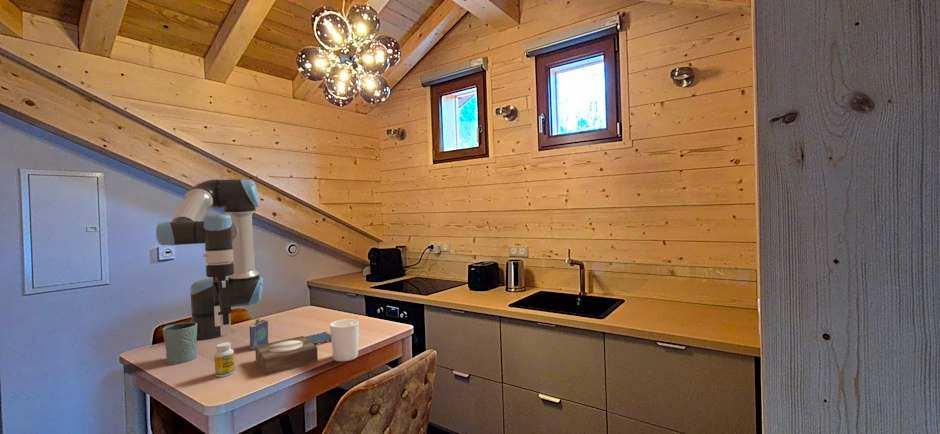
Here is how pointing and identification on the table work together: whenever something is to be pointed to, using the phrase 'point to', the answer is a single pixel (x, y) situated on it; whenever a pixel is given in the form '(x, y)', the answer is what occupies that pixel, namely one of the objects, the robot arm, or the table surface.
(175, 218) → the robot arm
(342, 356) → the candle holder
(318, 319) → the table surface
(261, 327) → the flask
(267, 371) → the walnut plinth
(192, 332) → the green cylinder
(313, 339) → the woven mat
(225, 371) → the supplement bottle
